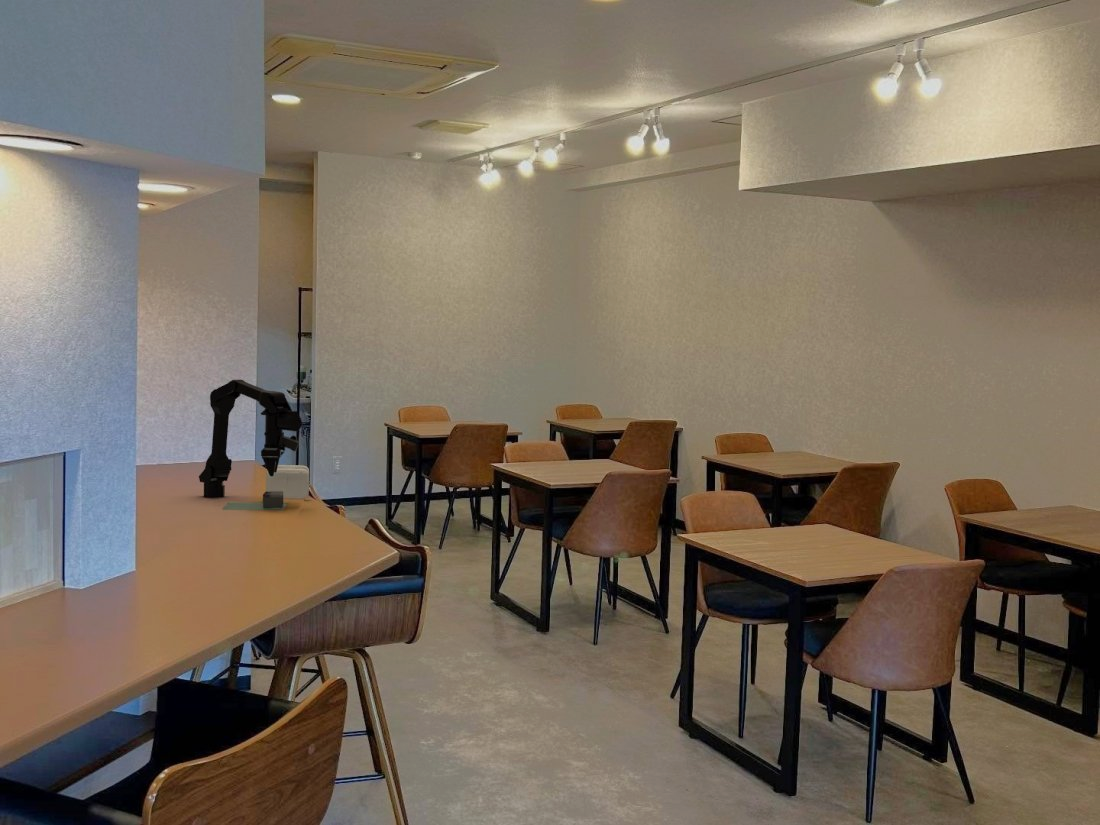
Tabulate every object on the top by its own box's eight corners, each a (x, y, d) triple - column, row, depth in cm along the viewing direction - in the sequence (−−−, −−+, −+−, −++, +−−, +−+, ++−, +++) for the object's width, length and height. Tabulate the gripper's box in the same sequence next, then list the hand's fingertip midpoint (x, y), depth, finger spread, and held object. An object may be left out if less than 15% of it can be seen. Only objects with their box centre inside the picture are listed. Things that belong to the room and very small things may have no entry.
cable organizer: (311, 496, 378) (311, 465, 378) (307, 501, 368) (308, 469, 367) (269, 496, 377) (269, 464, 376) (265, 500, 366) (265, 468, 365)
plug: (263, 508, 347) (262, 495, 347) (265, 504, 354) (265, 491, 354) (281, 507, 348) (280, 494, 348) (283, 504, 355) (283, 491, 355)
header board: (221, 511, 342) (221, 500, 341) (228, 504, 356) (228, 493, 355) (283, 512, 345) (283, 501, 345) (287, 505, 359) (287, 494, 358)
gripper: (295, 432, 341) (294, 478, 342) (300, 426, 360) (299, 470, 361) (261, 431, 339) (260, 478, 341) (267, 426, 358) (267, 470, 359)
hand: (273, 474), depth 350 cm, fingers open, 9 cm apart
